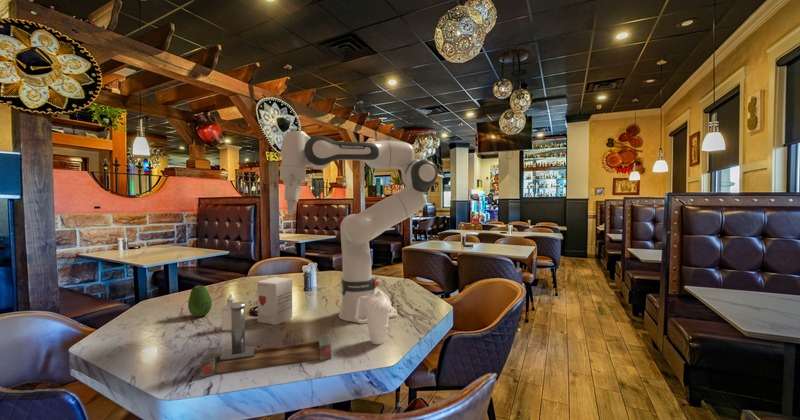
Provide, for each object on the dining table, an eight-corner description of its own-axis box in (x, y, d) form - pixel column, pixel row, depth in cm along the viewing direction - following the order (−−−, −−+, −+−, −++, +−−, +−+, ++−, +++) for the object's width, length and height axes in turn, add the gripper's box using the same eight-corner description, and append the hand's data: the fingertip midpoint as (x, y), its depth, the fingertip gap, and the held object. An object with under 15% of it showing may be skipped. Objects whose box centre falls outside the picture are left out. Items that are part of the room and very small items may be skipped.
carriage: (255, 352, 91) (255, 300, 91) (253, 359, 87) (253, 304, 87) (223, 357, 89) (222, 303, 88) (220, 363, 85) (219, 307, 85)
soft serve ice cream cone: (370, 349, 97) (370, 295, 96) (360, 339, 104) (360, 289, 104) (396, 343, 100) (395, 292, 100) (384, 334, 108) (384, 286, 108)
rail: (328, 346, 99) (328, 333, 99) (331, 359, 91) (331, 344, 91) (209, 362, 89) (208, 347, 89) (200, 378, 81) (199, 362, 81)
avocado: (189, 315, 128) (188, 284, 128) (212, 311, 132) (211, 282, 132) (187, 321, 121) (186, 289, 121) (211, 317, 125) (211, 286, 125)
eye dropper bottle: (234, 331, 111) (233, 296, 111) (219, 330, 112) (218, 295, 112) (242, 327, 115) (242, 293, 115) (228, 326, 116) (227, 292, 116)
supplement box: (256, 322, 120) (256, 281, 120) (274, 314, 128) (274, 276, 128) (276, 325, 117) (275, 283, 116) (293, 317, 125) (292, 278, 125)
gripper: (301, 172, 109) (299, 214, 109) (302, 179, 129) (301, 214, 128) (281, 171, 108) (279, 213, 107) (285, 178, 127) (284, 214, 127)
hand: (291, 214), depth 118 cm, fingers open, 8 cm apart
